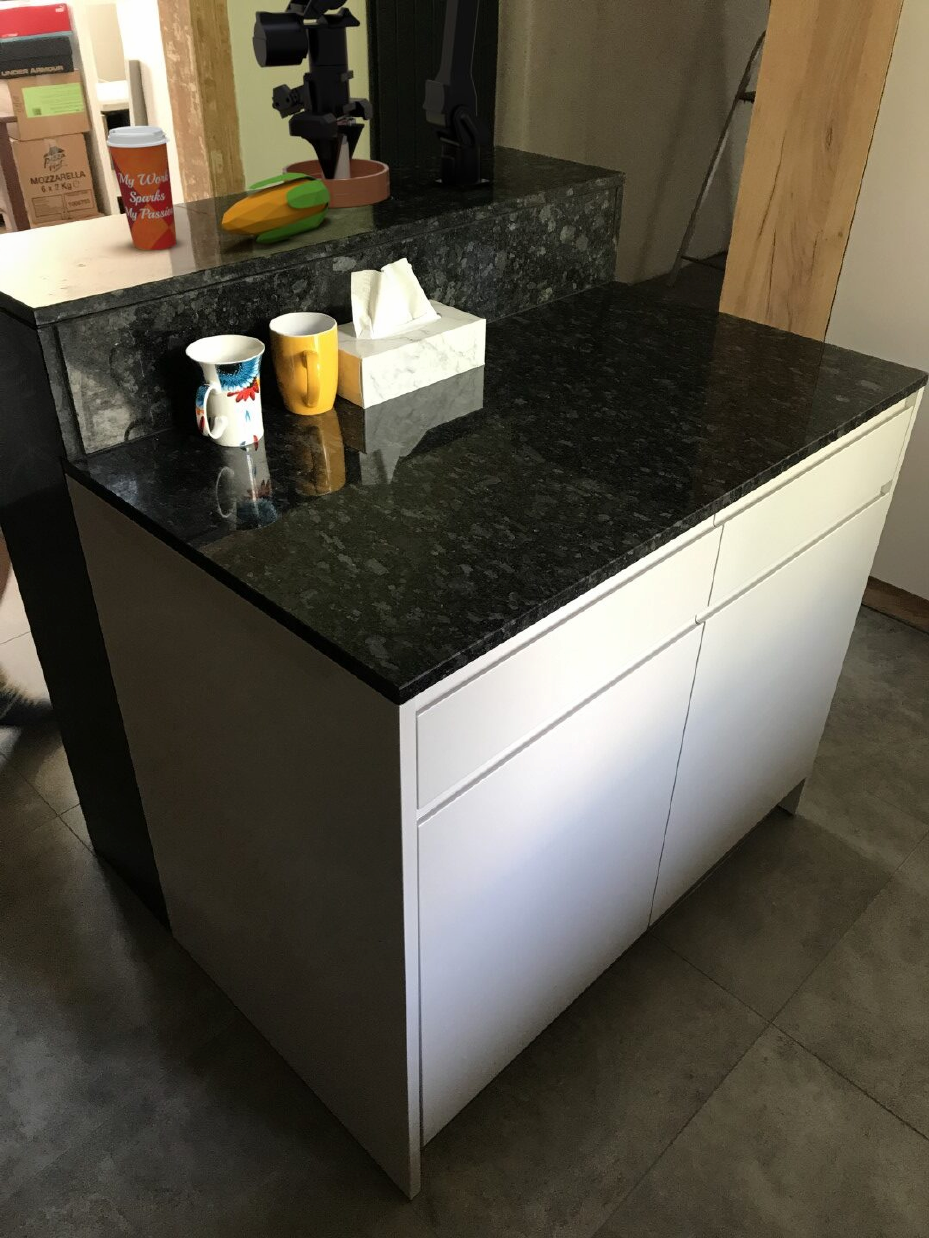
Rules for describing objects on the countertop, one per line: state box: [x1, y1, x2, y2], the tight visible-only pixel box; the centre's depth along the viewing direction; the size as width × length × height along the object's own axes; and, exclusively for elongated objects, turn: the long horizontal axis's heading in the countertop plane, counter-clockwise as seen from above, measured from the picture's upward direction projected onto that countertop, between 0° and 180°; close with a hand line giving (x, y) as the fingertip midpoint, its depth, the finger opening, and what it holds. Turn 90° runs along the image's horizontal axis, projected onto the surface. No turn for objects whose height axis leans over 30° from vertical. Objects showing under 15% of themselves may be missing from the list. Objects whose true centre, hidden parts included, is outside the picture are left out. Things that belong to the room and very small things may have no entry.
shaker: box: [321, 133, 351, 179], centre depth 152 cm, size 4×4×8 cm
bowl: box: [281, 157, 391, 209], centre depth 154 cm, size 16×16×4 cm
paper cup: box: [105, 125, 177, 251], centre depth 130 cm, size 8×8×14 cm
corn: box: [221, 173, 330, 244], centre depth 135 cm, size 7×8×20 cm
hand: (336, 178), depth 154 cm, fingers open, 5 cm apart
